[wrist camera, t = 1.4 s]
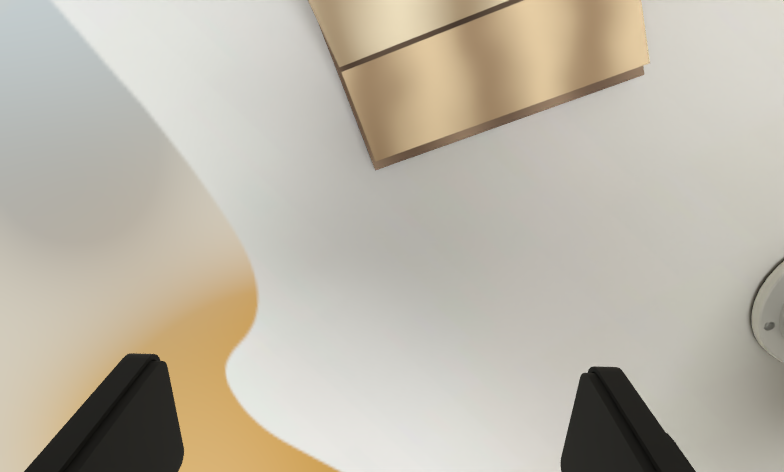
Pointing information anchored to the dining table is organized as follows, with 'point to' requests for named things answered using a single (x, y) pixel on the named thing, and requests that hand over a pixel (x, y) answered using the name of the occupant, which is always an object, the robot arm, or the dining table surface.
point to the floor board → (490, 71)
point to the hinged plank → (385, 22)
